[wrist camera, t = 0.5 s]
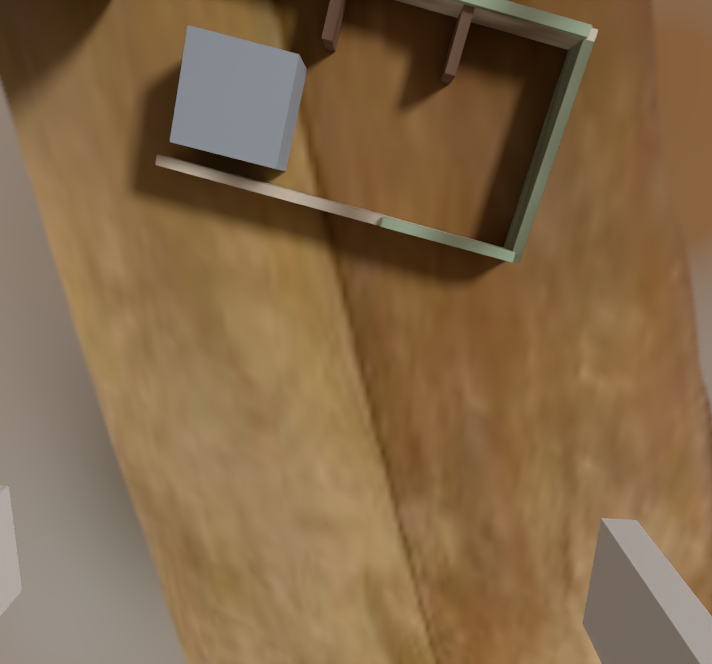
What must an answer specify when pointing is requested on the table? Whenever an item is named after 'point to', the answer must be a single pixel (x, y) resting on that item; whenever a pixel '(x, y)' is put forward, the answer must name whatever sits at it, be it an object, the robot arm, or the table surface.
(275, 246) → the table surface
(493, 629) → the table surface
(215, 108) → the slate block
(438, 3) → the wooden wall shelf
